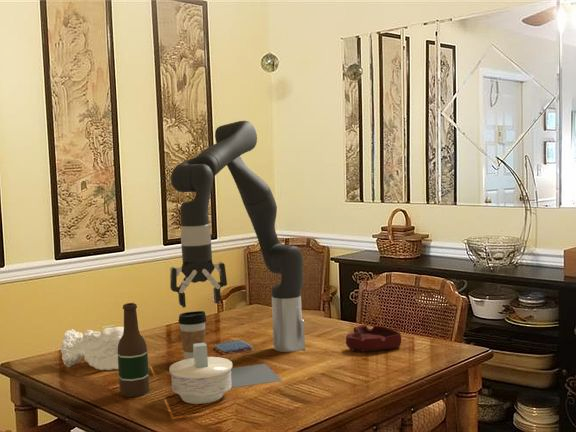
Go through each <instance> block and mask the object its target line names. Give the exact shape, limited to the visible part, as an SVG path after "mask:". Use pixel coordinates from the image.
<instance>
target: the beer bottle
mask: <svg viewBox="0 0 576 432" xmlns="http://www.w3.org/2000/svg"><path fill="white" fill-rule="evenodd" d="M137 308H138V306H137V303H134V302H129V303H128V302H127V303H124V304H122V309H123V327H124V331H123V336H122V337H121V339H120V341H119V344H118V369H117V370H118V382H119V383H118V384H119V392H120V394H121V396H122V397H124V398H125V397H126V398H136V397H142V396H144V395H146V394H147V393H149V392H150V374H149V357H148V356H149V355H148V347H147V342H146V340H145V338H144V337H143V336H142V334H141V333H140V329H139V323H138V322H139V321H138V314H137V313H138V312H137Z"/></svg>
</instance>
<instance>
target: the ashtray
mask: <svg viewBox="0 0 576 432" xmlns="http://www.w3.org/2000/svg"><path fill="white" fill-rule="evenodd" d="M345 344H346V346H347V347H348V349H350V350H352V351H353V352H354V353H361V352H372V351H380V350H381V351H383V350H384V351H385V350H395V349H399V347H400V346H401V344H402V334H401V333H400V332H399V331H396V330H394V329H393V328H389V327H387V326H383V325H373V328H369V327H368V326H367V324H361V325H358V326H354V327H353V333H348V334H347V335H346V337H345Z"/></svg>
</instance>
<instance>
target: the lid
mask: <svg viewBox="0 0 576 432" xmlns="http://www.w3.org/2000/svg"><path fill="white" fill-rule="evenodd" d="M193 351H194V358H190V359H182V360H179V361H176V362H173V364H171V365H170V366H169V369H168V370H169V374H170V375H171V376H172V375H173V376H176V377H179V378H186V379H200V378H209V377H215V376H219V375H222V374H225V373H227V372H229V371H230V370H231V369H232V368H233V362H232V361H231V360H230V359H227V358H226V357H225V358H224V357H219V356H217V357H216V356H208V345H207V343H206V342H205V343H197V344H193Z"/></svg>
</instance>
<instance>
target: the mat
mask: <svg viewBox="0 0 576 432" xmlns="http://www.w3.org/2000/svg"><path fill="white" fill-rule="evenodd" d="M282 381H283V380H282V379H281V377H279V376H278V374H276V373H275V372H274V371H273V370H272V369H271V368H270V367H269V366H268V364H266V363H260V364H259V363H258V364H253V365H245V366H238V367H237V366H235V367H232V369H231V388H230V389H234V388H238V387H239V388H240V387H247V386H254V385H261V384H262V385H263V384H268V383H275V382H282Z"/></svg>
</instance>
